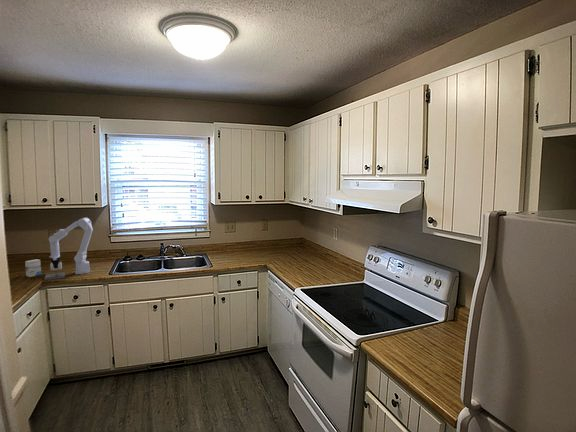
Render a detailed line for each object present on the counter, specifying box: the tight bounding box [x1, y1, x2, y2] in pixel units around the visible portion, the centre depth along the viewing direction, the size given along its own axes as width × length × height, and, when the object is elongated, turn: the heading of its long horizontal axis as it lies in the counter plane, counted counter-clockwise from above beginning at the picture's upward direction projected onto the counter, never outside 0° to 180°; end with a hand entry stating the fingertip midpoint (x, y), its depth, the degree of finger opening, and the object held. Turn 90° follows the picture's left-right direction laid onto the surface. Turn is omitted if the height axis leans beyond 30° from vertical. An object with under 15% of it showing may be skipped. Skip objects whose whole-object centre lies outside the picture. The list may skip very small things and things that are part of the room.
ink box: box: [24, 259, 42, 278], centre depth 264 cm, size 8×5×12 cm, turn 152°
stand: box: [43, 272, 66, 281], centre depth 260 cm, size 12×10×2 cm
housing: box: [49, 261, 63, 271], centre depth 269 cm, size 7×5×5 cm
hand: (56, 267), depth 269 cm, fingers closed on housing, 5 cm apart
